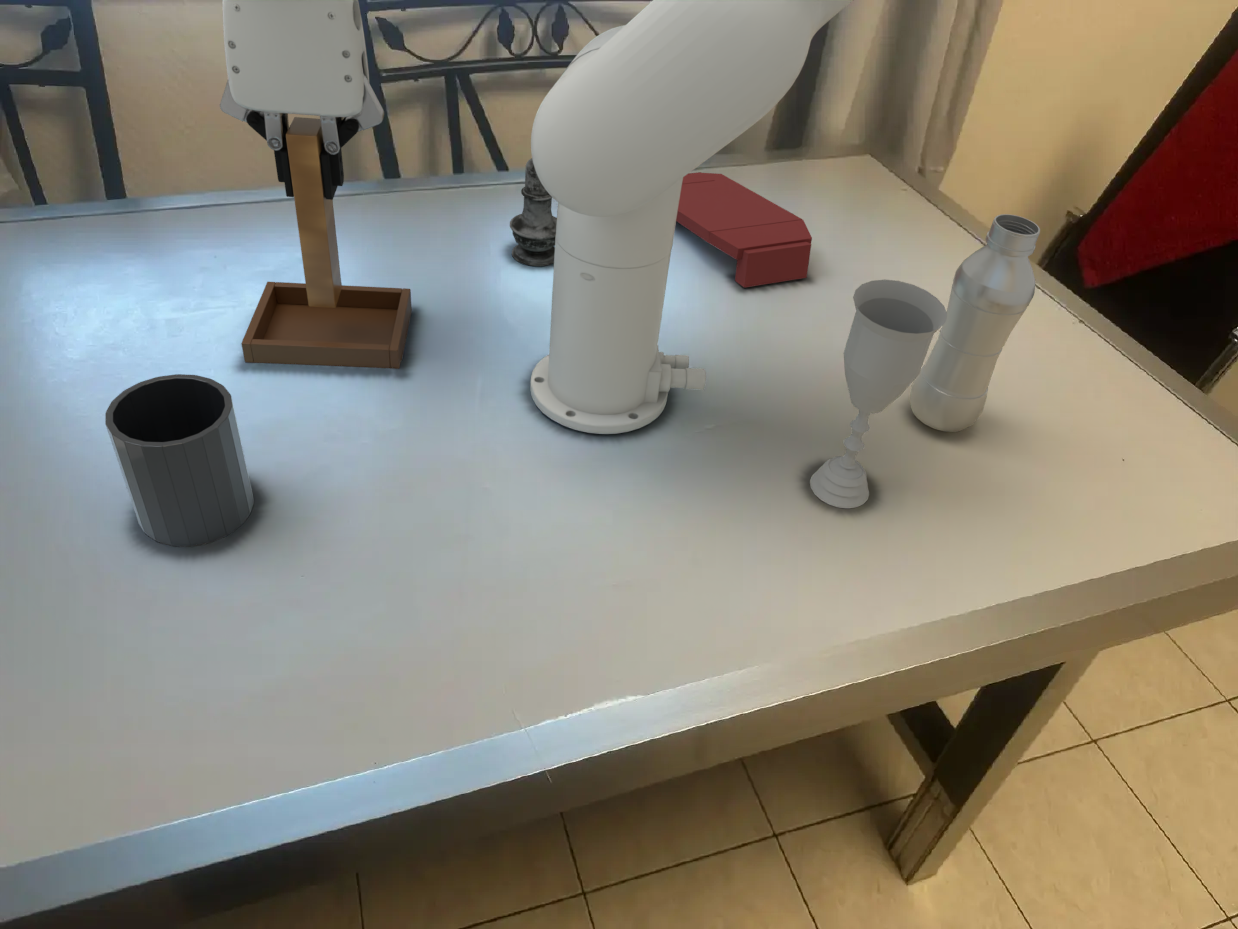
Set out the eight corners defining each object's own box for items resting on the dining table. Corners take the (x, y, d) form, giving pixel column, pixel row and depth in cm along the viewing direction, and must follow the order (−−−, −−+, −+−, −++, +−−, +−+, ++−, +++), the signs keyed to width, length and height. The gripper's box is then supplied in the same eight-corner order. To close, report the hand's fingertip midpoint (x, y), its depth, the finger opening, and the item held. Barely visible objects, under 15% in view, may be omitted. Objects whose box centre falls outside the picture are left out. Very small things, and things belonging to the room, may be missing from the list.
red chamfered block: (630, 217, 122) (728, 289, 103) (631, 179, 119) (732, 246, 101) (713, 207, 127) (821, 275, 108) (716, 170, 124) (827, 232, 105)
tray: (411, 310, 95) (410, 288, 93) (399, 373, 87) (398, 350, 85) (271, 304, 94) (267, 281, 92) (245, 367, 86) (240, 343, 84)
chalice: (879, 525, 78) (950, 341, 66) (797, 508, 78) (852, 323, 67) (879, 468, 83) (944, 289, 71) (802, 452, 84) (853, 272, 72)
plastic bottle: (925, 389, 93) (998, 198, 80) (987, 423, 90) (1073, 230, 77) (889, 414, 89) (959, 218, 76) (952, 451, 86) (1037, 253, 73)
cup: (264, 479, 75) (244, 376, 69) (240, 553, 69) (215, 448, 63) (159, 476, 74) (127, 371, 68) (125, 550, 68) (87, 444, 62)
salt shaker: (572, 253, 107) (579, 149, 99) (541, 273, 103) (546, 167, 95) (529, 236, 109) (533, 133, 101) (498, 255, 105) (499, 149, 97)
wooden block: (342, 287, 89) (324, 118, 78) (335, 308, 86) (316, 136, 76) (315, 286, 89) (294, 116, 78) (308, 306, 86) (285, 134, 76)
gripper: (404, -51, 72) (414, 178, 84) (182, -72, 71) (225, 165, 83) (392, -24, 67) (404, 218, 79) (151, -46, 65) (202, 205, 77)
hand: (312, 189), depth 81 cm, fingers closed on wooden block, 2 cm apart
